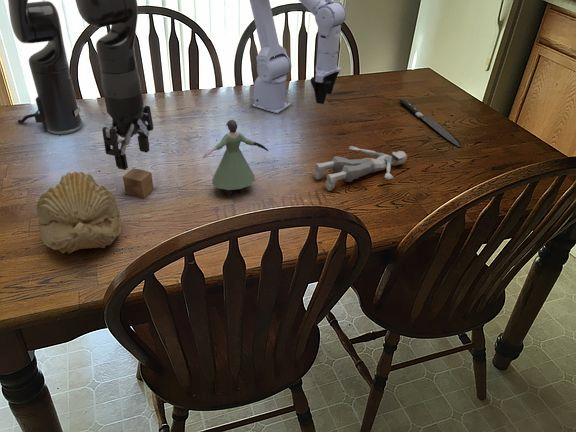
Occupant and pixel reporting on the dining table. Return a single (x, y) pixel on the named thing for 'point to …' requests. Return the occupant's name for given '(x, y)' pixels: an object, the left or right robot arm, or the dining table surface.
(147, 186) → the brown cube-like block
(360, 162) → the figurine
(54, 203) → the fossil
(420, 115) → the knife
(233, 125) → the character figurine
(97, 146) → the dining table surface
